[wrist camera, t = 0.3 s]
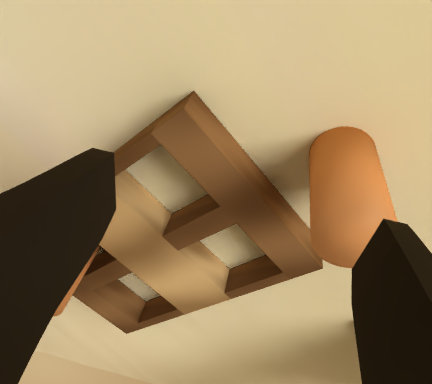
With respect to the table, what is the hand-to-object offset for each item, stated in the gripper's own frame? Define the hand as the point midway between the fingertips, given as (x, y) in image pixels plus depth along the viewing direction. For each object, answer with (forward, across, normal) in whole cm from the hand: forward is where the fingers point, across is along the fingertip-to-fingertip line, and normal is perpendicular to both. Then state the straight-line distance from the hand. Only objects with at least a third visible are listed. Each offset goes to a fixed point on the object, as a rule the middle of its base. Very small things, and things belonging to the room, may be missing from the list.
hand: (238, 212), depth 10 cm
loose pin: (+9, -4, +3) cm, 10 cm away
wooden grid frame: (+9, +5, +12) cm, 16 cm away
